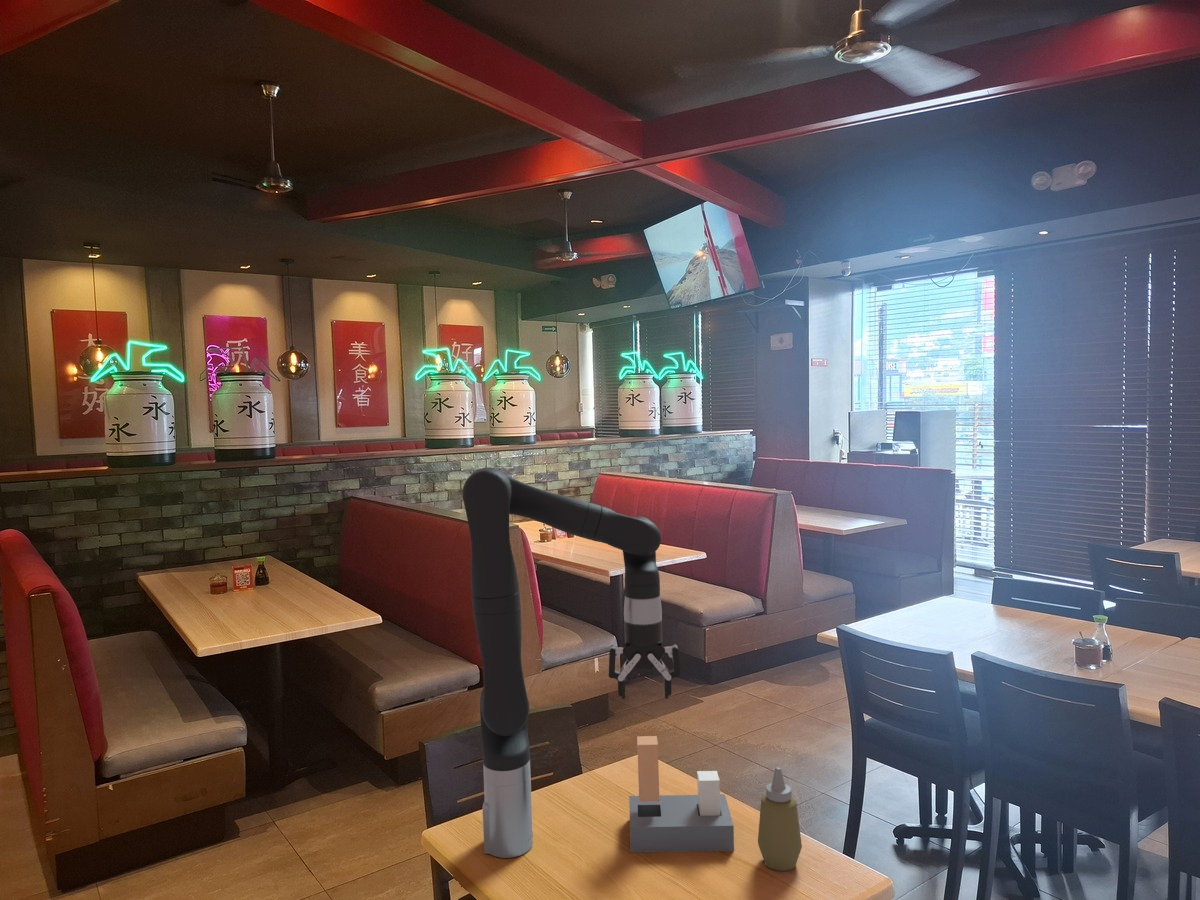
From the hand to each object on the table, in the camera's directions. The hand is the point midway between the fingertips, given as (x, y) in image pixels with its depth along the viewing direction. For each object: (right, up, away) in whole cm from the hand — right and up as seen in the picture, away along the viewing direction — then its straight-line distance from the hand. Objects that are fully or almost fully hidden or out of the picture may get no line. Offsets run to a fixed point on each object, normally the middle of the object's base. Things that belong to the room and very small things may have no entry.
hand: (644, 697), depth 152 cm
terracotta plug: (+1, -21, +1) cm, 21 cm away
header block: (+7, -28, +1) cm, 29 cm away
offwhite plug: (+13, -28, +1) cm, 31 cm away
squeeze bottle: (+25, -28, -10) cm, 39 cm away
